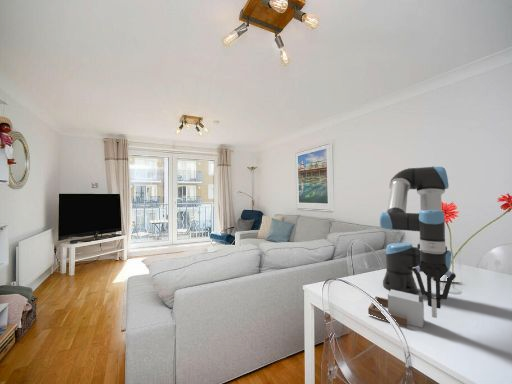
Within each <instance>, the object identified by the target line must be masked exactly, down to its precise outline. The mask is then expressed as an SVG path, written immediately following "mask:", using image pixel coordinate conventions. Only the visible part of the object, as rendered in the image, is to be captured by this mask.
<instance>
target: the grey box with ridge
mask: <svg viewBox="0 0 512 384" xmlns="http://www.w3.org/2000/svg"><path fill="white" fill-rule="evenodd" d="M387 299H388V307H387V313H388V312H389V313H390V314H394V315H398V316H401V317H405V318H407V325H410V326H411V325H412V326H415V327H418V328H421V329H422V328H424V323H425V322H424V321H425V312H424V311H425V307H424V306H425V305H424V300H425V299H424V295H422V293H421V290H419V293H418V294H415V293H414V294H410V293H405V292H401V291H396V290H392V289H391V290H389V292H388V294H387Z"/></svg>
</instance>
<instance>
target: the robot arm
mask: <svg viewBox="0 0 512 384" xmlns="http://www.w3.org/2000/svg"><path fill="white" fill-rule="evenodd" d="M448 178H449V177H448V175H447V170H446V168H445V167H443V166H435V165H434V166H427V167H426V166H425V167H423V166H422V167H412V168H411V167H409V168H404V169H402V170H401V171H398V172H397V173H396V174H395V175H393V177H391V179H390V182H389V189H390V192H389V198H388V203H387V208H386V211H384V212H383V211H382V212H380V214H379V225H380V228H381V229H386V230H391V231H393V230H395V231H410V232H419V242H418V243H417V246H415V247H414V246H413V244H412V243H407V242H392V243H389V244H387V246H386V250H385V260H386V265H385V268H386V272H385V274H384V277H383V280H382V286H383V288H385V289H386V290H388V291H390V290H391V289H392V290H396V291H401V292H405V293H410V294H414V295H415V294H416V293H417V292H418V288H419V289H420V290H419V291H421V293H422V295H423V296H425V297H426V298H427V306H428V307H431V317H432V318H436V319H438V312H437V311H438V310H437V309H439V310H440V309H441V307H442V306H441V305H442V304H441V300H447V298H448V296H449V292H450V289H451V285H452V283H453V280H454V279H456V277H457V276H456V273H455V272H452V271H450V269H451V264H452V263H451V262H452V251H450V250H448V246H447V245H446V225H445V224H446V223H445V222H446V218H445V213H444V211H443V210H442V209H443V208H442V206H443V205H442V195H444V194H445V192H446V190H447V189H449V187H450V186H449V179H448ZM410 190H416V193H417V194H418V195H420V197H419V198H420V210H419V213H416V212H415V213H413V212H407V205H408V194H409V193H408V192H409V191H410ZM440 202H441V203H440ZM413 273H414V274H413ZM421 273H423V274H424V275H425V276H426V286H427V287H426V288H425V285H424V282H423V280H422V276H421ZM413 275H415V276H416V280H417V283H416V281H415V278H414V276H413ZM443 275H447V277H448V278H447V281H446V282H445V285H444V288H443V290H442V294H441V281H440V278H441V277H442V276H443ZM431 277H435V278H436V281H435V296H432V291H433V290H432V278H431ZM417 284H418V286H417Z"/></svg>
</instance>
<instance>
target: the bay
mask: <svg viewBox="0 0 512 384" xmlns="http://www.w3.org/2000/svg"><path fill="white" fill-rule="evenodd" d="M374 299H376V300H377V301H378V302H379V303H380V304H382V305H383V306H382V307H385V308H388V298H385V297H379V296H375V297H374ZM375 308H376V309H375ZM367 311H368V314H370V315H373V316H376V317H378V318H381V319H384V320H386V321H385V322H387V321H388V320H387V319H386V317H385V316H384V315H383V314H382V313H381V311H382V310H379V309H377V307H376V306H375V305H374V304H373V303H372V302H371V303H370V305H369V307H368V310H367ZM391 316H392V317H393V318H394V319H395V320H396V322H397V323H398V324H399V325H398V326H401V327H404V328H408V323H407V318H405V317H401V316H398V315H394V314H391ZM384 320H383V321H384Z"/></svg>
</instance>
